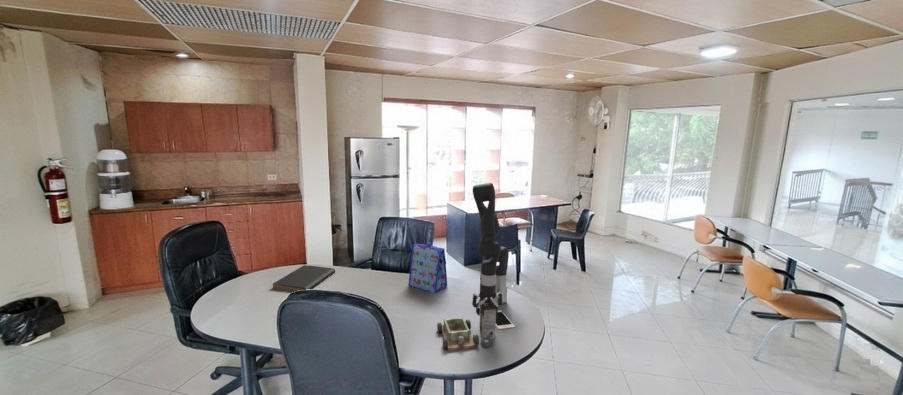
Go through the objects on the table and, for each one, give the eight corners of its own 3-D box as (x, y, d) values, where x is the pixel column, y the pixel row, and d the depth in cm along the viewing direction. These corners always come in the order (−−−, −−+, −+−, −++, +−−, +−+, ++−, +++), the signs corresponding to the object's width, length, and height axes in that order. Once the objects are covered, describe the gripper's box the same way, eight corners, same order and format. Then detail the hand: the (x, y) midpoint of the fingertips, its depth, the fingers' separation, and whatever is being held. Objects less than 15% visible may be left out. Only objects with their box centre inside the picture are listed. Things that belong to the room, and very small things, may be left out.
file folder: (303, 264, 259) (335, 268, 254) (304, 270, 260) (335, 273, 255) (271, 283, 227) (307, 287, 222) (272, 289, 228) (307, 294, 223)
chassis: (468, 325, 188) (468, 315, 187) (479, 347, 169) (479, 336, 168) (436, 328, 185) (436, 318, 184) (444, 351, 166) (444, 340, 165)
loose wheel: (489, 341, 174) (489, 337, 174) (493, 347, 169) (493, 343, 169) (479, 342, 173) (479, 338, 173) (482, 348, 168) (482, 344, 168)
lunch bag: (447, 286, 234) (448, 243, 229) (435, 294, 223) (435, 248, 218) (420, 278, 246) (420, 237, 241) (407, 285, 235) (407, 242, 229)
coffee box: (479, 329, 184) (479, 299, 181) (491, 329, 185) (492, 299, 182) (481, 339, 175) (482, 308, 172) (495, 339, 176) (496, 308, 173)
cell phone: (498, 330, 184) (498, 328, 184) (485, 313, 201) (486, 311, 201) (514, 328, 187) (515, 326, 187) (500, 311, 204) (501, 309, 204)
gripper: (499, 278, 180) (498, 309, 183) (471, 280, 177) (470, 311, 180) (504, 284, 173) (503, 316, 176) (475, 286, 170) (474, 318, 173)
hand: (486, 313), depth 178 cm, fingers open, 8 cm apart
